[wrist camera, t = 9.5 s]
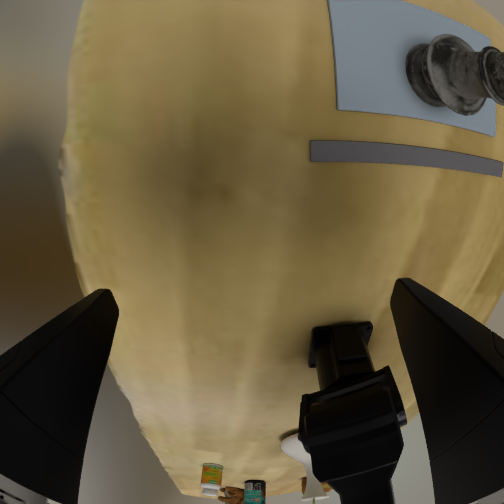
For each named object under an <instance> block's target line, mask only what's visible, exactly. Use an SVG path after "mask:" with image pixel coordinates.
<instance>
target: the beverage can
mask: <svg viewBox="0 0 504 504" xmlns="http://www.w3.org/2000/svg"><path fill="white" fill-rule="evenodd" d="M265 494H266V483H265V482H264V481H262V480H248V481H246V482H245V492H244V504H265Z"/></svg>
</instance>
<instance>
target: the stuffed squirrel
mask: <svg viewBox="0 0 504 504" xmlns="http://www.w3.org/2000/svg"><path fill="white" fill-rule="evenodd" d="M220 491H222V492H224V494H225V496H226V497H222V496H219V497H218V499H219V500H220V501H222V502H225V504H244V492H245V490H243V489H239V488H234V487H226V488H225V489H220Z"/></svg>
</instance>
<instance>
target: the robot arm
mask: <svg viewBox="0 0 504 504" xmlns="http://www.w3.org/2000/svg"><path fill="white" fill-rule="evenodd" d="M390 306H391V310H392V314H393V318H394V322H395V326H396V331H397V335H398V339H399V343H400V347H401V351H402V354H403V357H404V360H405V363H406V366H407V370H408V373H409V376H410V379H411V383H412V386H413V390H414V393H415V397H416V401H417V405H418V409H419V412H420V416H421V421H422V425H423V429H424V434H425V439H426V444H427V449H428V454H429V460H430V466H431V473H432V480H433V488H434V497H435V504H469V503H472V502H474V501H477V500H478V503H476V504H504V339H503V338H501V337H500V336H498V335H497V334H496V333H494V332H491V330H490V329H488V328H487V327H486V326H484V325H483V324H481V323H480V322H478V321H477V320H475V319H474V318H472V317H471V316H469V315H468V314H466V313H465V312H463V311H462V310H460V309H459V308H457V307H456V306H454V305H452V304H451V303H449V302H448V301H446V300H445V299H443V298H441V297H440V296H438V295H437V294H435V293H433V292H432V291H430V290H429V289H427V288H425V287H424V286H422V285H420V284H419V283H417V282H416V281H414V280H412V279H411V278H399V279H397V280H396V282H395V285H394V289H393V292H392V296H391V300H390ZM118 317H119V308H118V306H117V303H116V301H115V299H114V296H113V294H112V292H111V291H110V290H109V289H97V290H96V291H94V292H93V293H91V294H89V295H88V296H86V297H85V298H83V299H82V300H80V301H79V302H77V303H76V304H74V305H73V306H71V307H69V308H68V309H66V310H65V311H63V312H62V313H60V314H59V315H57V316H56V317H54V318H53V319H52V320H50V321H49V322H47V323H46V324H44V325H43V326H41V327H40V328H38V329H37V330H36V331H34V332H33V333H31V334H30V335H29V336H27V337H26V338H24V339H23V340H22V341H20V342H19V343H17V344H16V345H14V346H13V347H12V348H10V349H9V350H7V351H6V352H5V353H3V354H2V355H0V504H49V503H48V499H51V500H53V501H56V502H59V503H61V504H78V495H79V486H80V479H81V472H82V466H83V458H84V453H85V448H86V443H87V438H88V434H89V429H90V424H91V420H92V416H93V412H94V408H95V404H96V400H97V396H98V393H99V389H100V385H101V381H102V378H103V375H104V371H105V368H106V365H107V362H108V358H109V355H110V351H111V347H112V342H113V338H114V333H115V329H116V325H117V321H118ZM372 330H373V325H372V323H371V322H366V323H357V324H348V325H338V326H327V327H316V328H314V329H313V330H312V337H311V345H310V353H309V361H308V365H309V367H310V368H316V367H317V374H318V380H319V387H320V391H318V392H314V393H311V394H304V395H302V402H301V405H300V418H299V429H298V440H299V441H300V442H302V444H303V447H304V449H305V451H306V452H307V453H308V454H310V456H311V463H312V473H313V475H314V476H315V477H316V479H317V480H318V481H319V482H320V483H323V482H326V483H327V484H328V485H329V486H330V487H331V488H333V489H334V490H335V491H336V492H337V493H338V494H339V495H340V500H341V504H395V499H394V492H393V486H392V481H391V478H392V475H393V473H394V471H395V468H396V466H397V463H398V461H399V458H400V455H401V453H402V450H403V446H404V443H403V438H402V434H401V430H400V427H402V426H404V425H407V419H406V414H405V410H404V406H403V403H402V399H401V396H400V393H399V391H398V388H397V385H396V383H395V380H394V378H393V375H392V372H391V370H390V367H389V365H388V366H385V367H383V369H380V370H378V371H375V369H374V366H373V363H372V360H371V357H370V354H369V351H368V348H367V345H368V342H369V339H370V336H371V333H372Z"/></svg>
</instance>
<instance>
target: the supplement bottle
mask: <svg viewBox="0 0 504 504" xmlns="http://www.w3.org/2000/svg"><path fill="white" fill-rule="evenodd" d="M222 470H223V467H222V466H221V465H218V464H211V463H205V464H203V469H202V477H201V487H203V488H204V490H203V491H202V494H203V495H208V496H218V491H217V490H219V489H220V488H221V481H222Z"/></svg>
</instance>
